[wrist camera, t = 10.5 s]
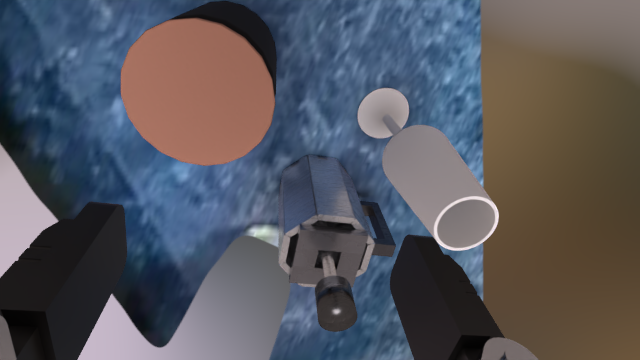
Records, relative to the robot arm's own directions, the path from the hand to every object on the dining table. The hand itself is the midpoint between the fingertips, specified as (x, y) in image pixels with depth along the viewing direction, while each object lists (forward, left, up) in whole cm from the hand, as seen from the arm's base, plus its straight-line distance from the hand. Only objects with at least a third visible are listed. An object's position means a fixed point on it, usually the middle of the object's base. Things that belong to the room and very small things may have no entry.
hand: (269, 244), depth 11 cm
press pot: (+18, +9, -36) cm, 41 cm away
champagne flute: (+6, +14, -36) cm, 39 cm away
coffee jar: (+2, -5, -36) cm, 37 cm away
